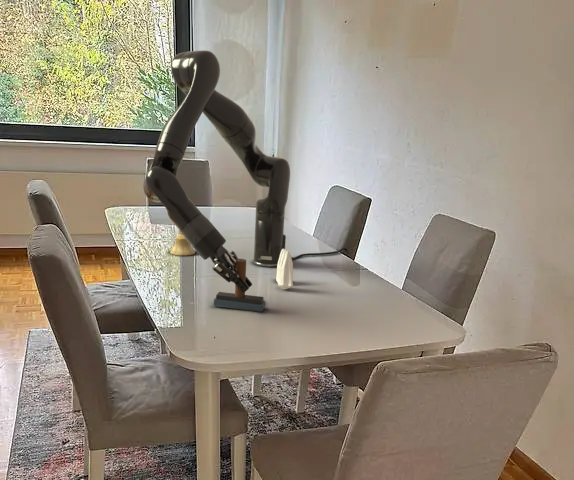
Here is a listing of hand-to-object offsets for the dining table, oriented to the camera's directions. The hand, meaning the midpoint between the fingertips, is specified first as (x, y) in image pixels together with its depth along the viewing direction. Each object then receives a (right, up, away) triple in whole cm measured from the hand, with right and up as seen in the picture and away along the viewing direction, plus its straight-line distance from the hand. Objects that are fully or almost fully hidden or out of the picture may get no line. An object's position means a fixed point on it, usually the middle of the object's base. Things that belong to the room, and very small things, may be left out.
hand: (247, 288), depth 164 cm
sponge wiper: (-2, -5, +3) cm, 6 cm away
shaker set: (+9, +4, +23) cm, 25 cm away
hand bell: (-25, +19, +50) cm, 59 cm away
